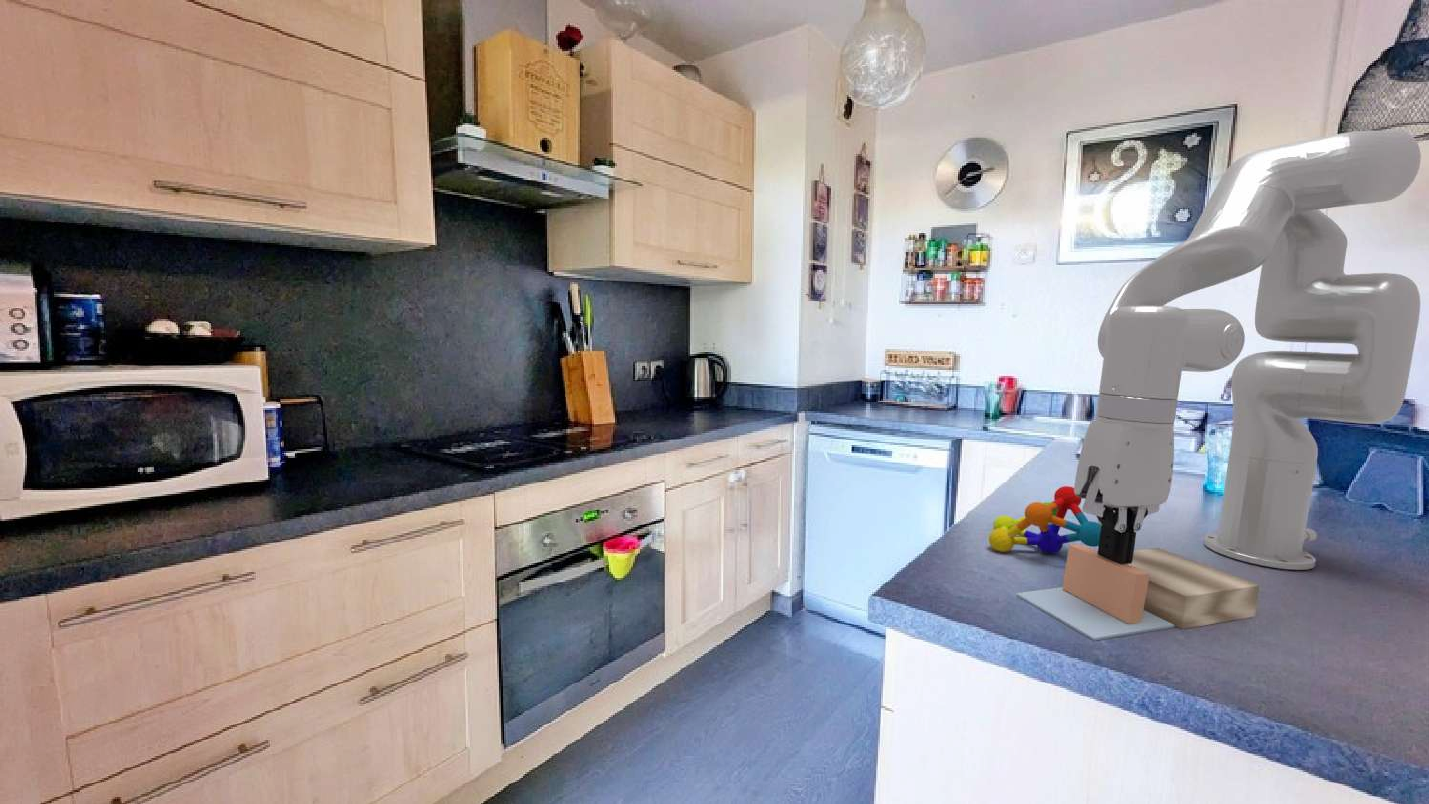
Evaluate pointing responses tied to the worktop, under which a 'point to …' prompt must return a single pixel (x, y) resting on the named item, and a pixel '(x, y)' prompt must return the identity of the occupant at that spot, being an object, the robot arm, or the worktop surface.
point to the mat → (1089, 615)
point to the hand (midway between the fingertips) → (1114, 559)
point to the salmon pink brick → (1106, 583)
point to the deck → (1193, 590)
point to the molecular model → (1046, 525)
